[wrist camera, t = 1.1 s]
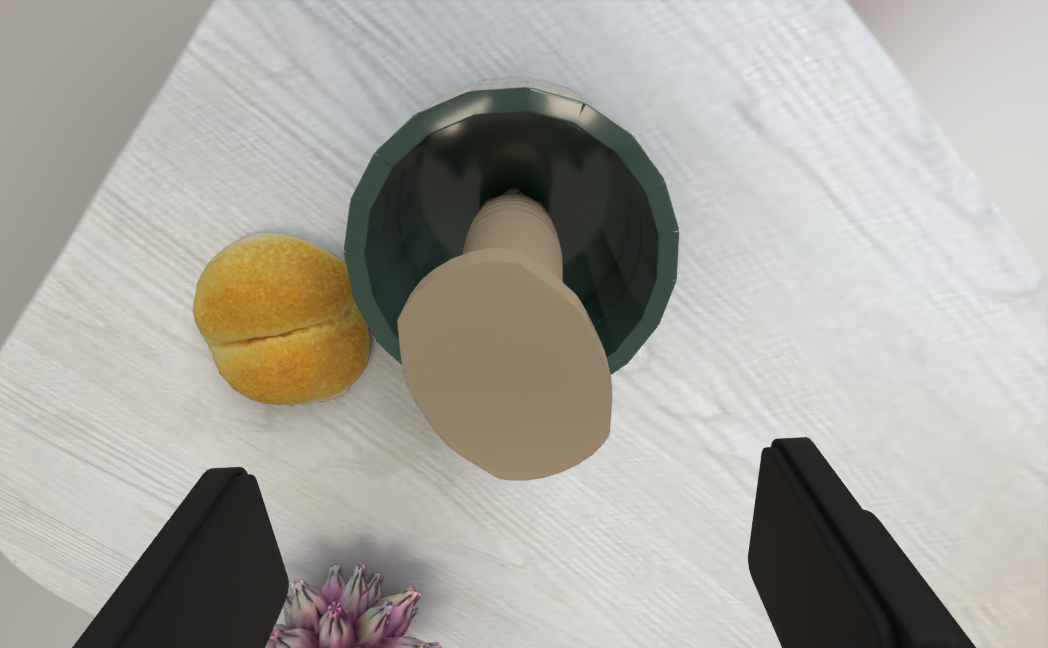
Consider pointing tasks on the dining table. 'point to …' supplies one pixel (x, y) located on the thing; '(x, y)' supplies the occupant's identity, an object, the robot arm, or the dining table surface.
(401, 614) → the flower
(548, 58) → the dining table surface
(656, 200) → the pot
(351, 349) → the bread roll
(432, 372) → the handle
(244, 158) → the dining table surface
